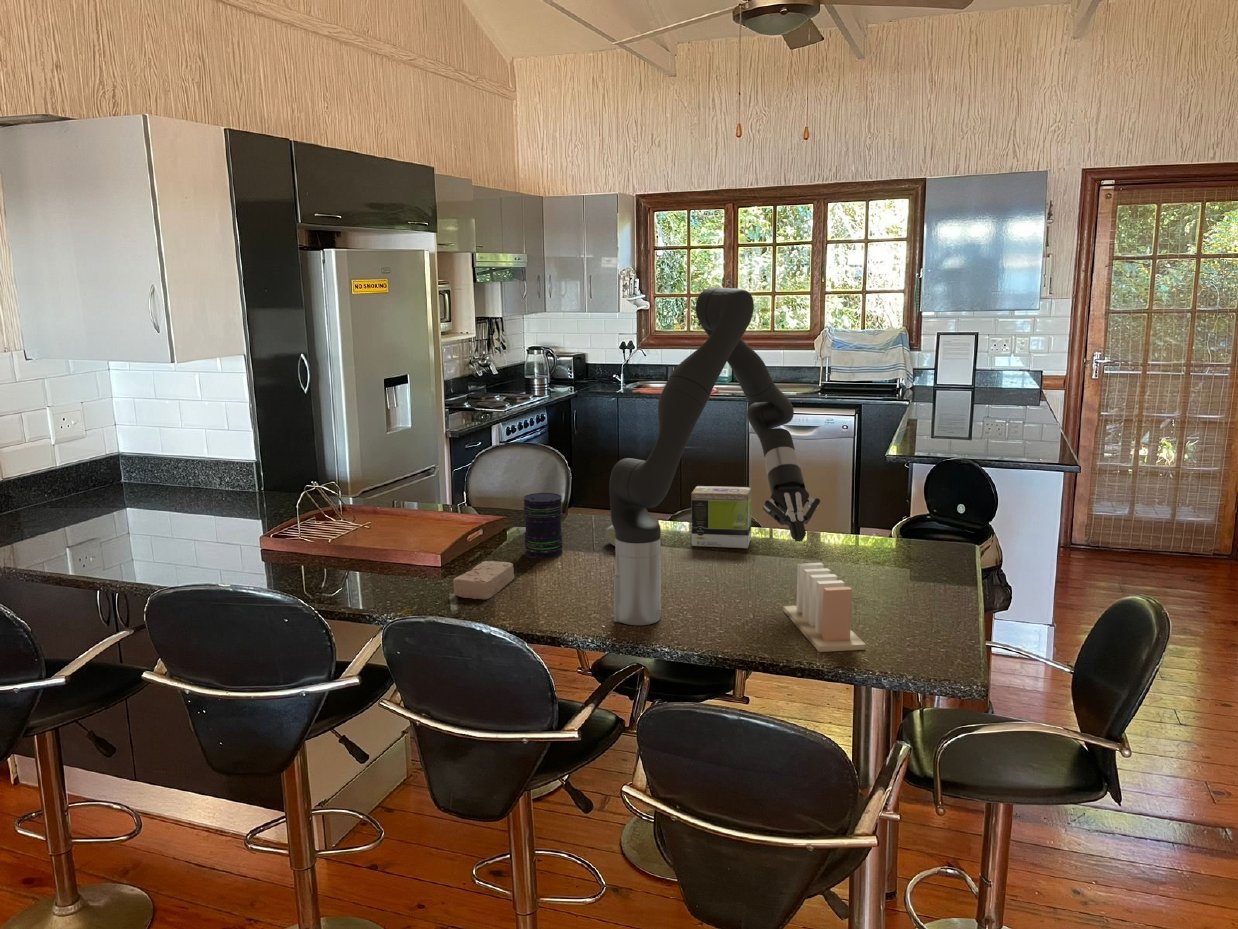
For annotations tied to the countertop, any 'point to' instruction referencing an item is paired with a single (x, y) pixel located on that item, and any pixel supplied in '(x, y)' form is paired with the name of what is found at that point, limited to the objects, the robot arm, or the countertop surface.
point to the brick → (484, 580)
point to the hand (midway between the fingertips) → (799, 539)
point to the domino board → (816, 638)
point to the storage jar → (543, 525)
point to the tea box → (721, 516)
